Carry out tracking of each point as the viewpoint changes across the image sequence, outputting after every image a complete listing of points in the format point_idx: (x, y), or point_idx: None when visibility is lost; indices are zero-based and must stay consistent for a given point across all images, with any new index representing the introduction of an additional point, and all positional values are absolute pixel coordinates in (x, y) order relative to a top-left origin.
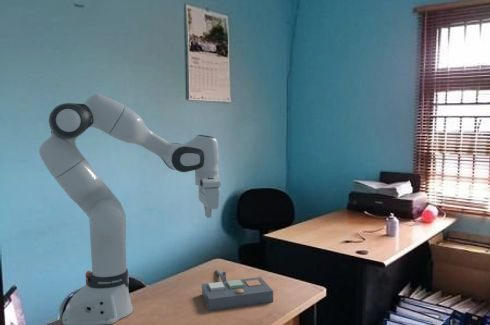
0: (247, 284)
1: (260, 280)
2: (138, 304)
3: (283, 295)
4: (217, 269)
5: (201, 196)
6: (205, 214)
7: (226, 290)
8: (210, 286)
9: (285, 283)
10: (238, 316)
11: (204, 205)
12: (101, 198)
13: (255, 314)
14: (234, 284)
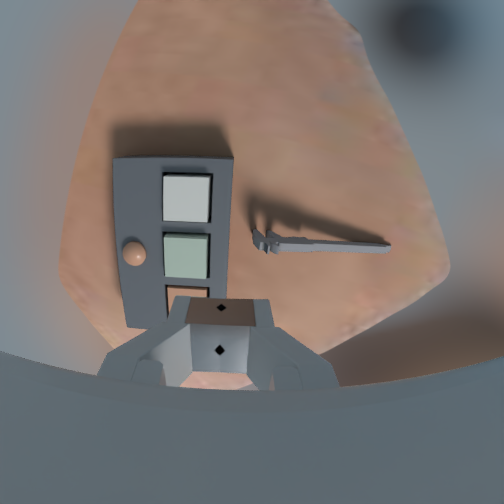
0: (181, 288)
1: None
2: None
3: None
4: (380, 249)
5: (441, 476)
6: (251, 306)
7: (156, 220)
8: (179, 178)
9: None
10: (80, 217)
11: (292, 383)
12: None
13: (83, 255)
14: (172, 252)
